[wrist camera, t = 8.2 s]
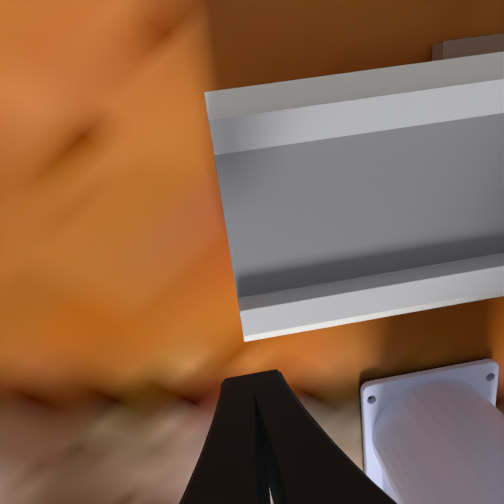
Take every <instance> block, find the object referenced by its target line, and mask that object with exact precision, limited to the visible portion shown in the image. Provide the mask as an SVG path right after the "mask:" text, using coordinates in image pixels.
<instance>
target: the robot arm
mask: <svg viewBox="0 0 504 504" xmlns="http://www.w3.org/2000/svg"><path fill="white" fill-rule="evenodd" d="M498 371H499V365H498V364H497V363H496V362H495V361H494V360H492V359H484V360H478V361H473V362H468V363H462V364H457V365H452V366H446V367H441V368H436V369H430V370H425V371H420V372H414V373H409V374H404V375H398V376H393V377H388V378H382V379H377V380H372V381H367V382H365V383H364V384H363V385H362V386H361V389H360V392H361V412H362V433H363V453H364V472H363V471H362V470H361V469H360V468H359V467H358V466H357V465H356V464H354V462H353V461H352V460H351V459H350V458H349V457H348V456H347V455H346V454H345V453H344V452H343V451H342V450H341V449H340V448H339V447H338V446H337V445H336V444H335V443H334V441H333V440H332V439H331V438H330V437H329V436H328V435H327V434H326V433H325V431H324V430H323V429H322V428H321V427H320V426H319V424H318V423H317V422H316V421H315V420H314V418H313V417H312V416H311V415H310V414H309V412H308V411H307V410H306V409H305V407H304V406H303V405H302V403H301V402H300V401H299V399H298V398H297V397H296V395H295V394H294V393H293V391H292V390H291V388H290V387H289V385H288V384H287V382H286V381H285V379H284V377H283V375H282V373H281V372H279V371H278V370H276V369H275V370H270V371H264V372H259V373H253V374H248V375H242V376H237V377H231V378H226V379H225V380H224V381H223V382H222V383H221V390H220V395H219V400H218V404H217V407H216V411H215V414H214V417H213V421H212V424H211V427H210V429H209V432H208V435H207V438H206V441H205V444H204V446H203V449H202V452H201V454H200V457H199V459H198V462H197V464H196V466H195V469H194V471H193V473H192V476H191V478H190V480H189V483H188V485H187V487H186V490H185V492H184V494H183V497H182V499H181V501H180V503H179V504H271V503H270V491H271V495H272V499H273V503H274V504H504V415H503V414H502V413H501V412H500V411H499V410H498V409H497V408H496V407H495V404H496V393H497V382H498ZM488 374H489V375H488ZM487 375H488V376H487ZM370 396H373V397H372V398H370V399H368V398H369V397H370ZM269 487H270V491H269Z"/></svg>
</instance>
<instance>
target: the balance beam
mask: <svg viewBox="0 0 504 504" xmlns="http://www.w3.org/2000/svg"><path fill="white" fill-rule="evenodd" d="M204 94H205V101H206V107H207V113H208V120H209V126H210V132H211V138H212V144H213V150H214V157H215V163H216V169H217V175H218V181H219V187H220V194H221V200H222V206H223V212H224V218H225V225H226V231H227V237H228V243H229V249H230V255H231V262H232V268H233V274H234V280H235V286H236V293H237V299H238V305H239V311H240V317H241V323H242V329H243V335H244V341H245V342H247V341H252V340H258V339H264V338H269V337H275V336H280V335H286V334H292V333H297V332H303V331H309V330H314V329H320V328H326V327H331V326H337V325H343V324H348V323H354V322H359V321H365V320H371V319H376V318H382V317H388V316H393V315H399V314H405V313H410V312H416V311H421V310H427V309H433V308H438V307H444V306H450V305H455V304H461V303H467V302H472V301H478V300H484V299H489V298H495V297H500V296H504V33H501V34H493V35H486V36H478V37H471V38H463V39H456V40H448V41H442V42H439V43H437V44H434V45H432V61H430V62H423V63H415V64H408V65H401V66H393V67H386V68H379V69H371V70H364V71H357V72H349V73H342V74H334V75H327V76H320V77H312V78H305V79H298V80H290V81H283V82H276V83H268V84H261V85H254V86H246V87H239V88H231V89H224V90H217V91H209V92H204Z"/></svg>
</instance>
